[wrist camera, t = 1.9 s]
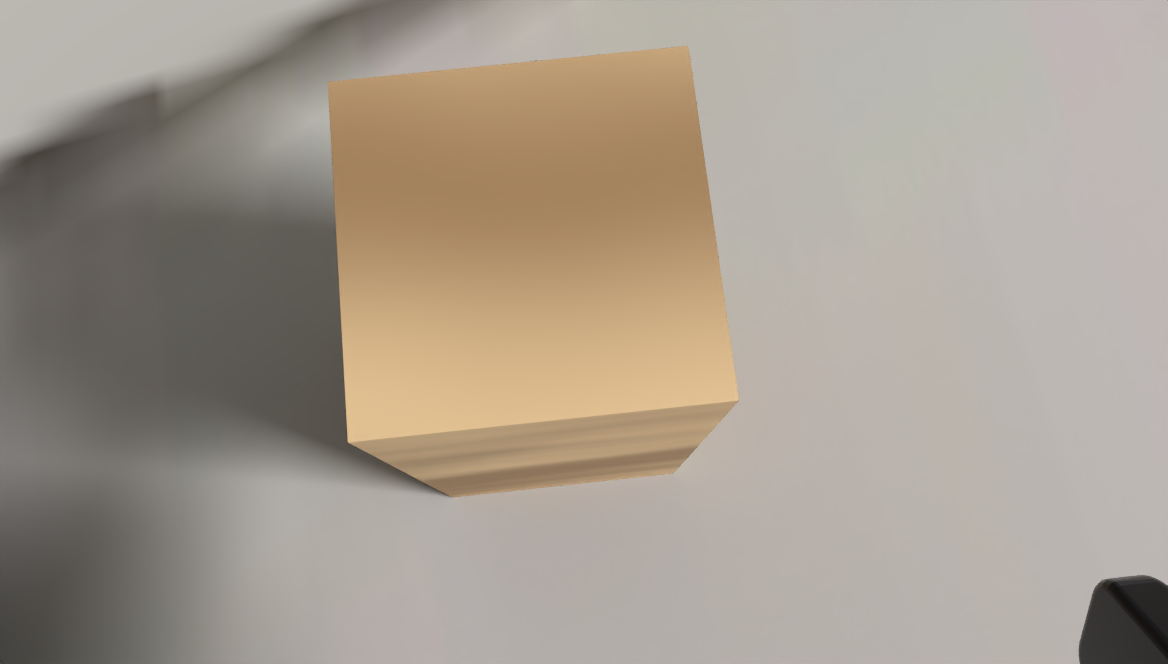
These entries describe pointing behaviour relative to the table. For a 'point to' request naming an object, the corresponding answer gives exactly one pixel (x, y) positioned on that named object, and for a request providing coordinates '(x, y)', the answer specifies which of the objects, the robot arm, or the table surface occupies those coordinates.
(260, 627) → the table surface
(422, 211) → the peg
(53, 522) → the table surface
